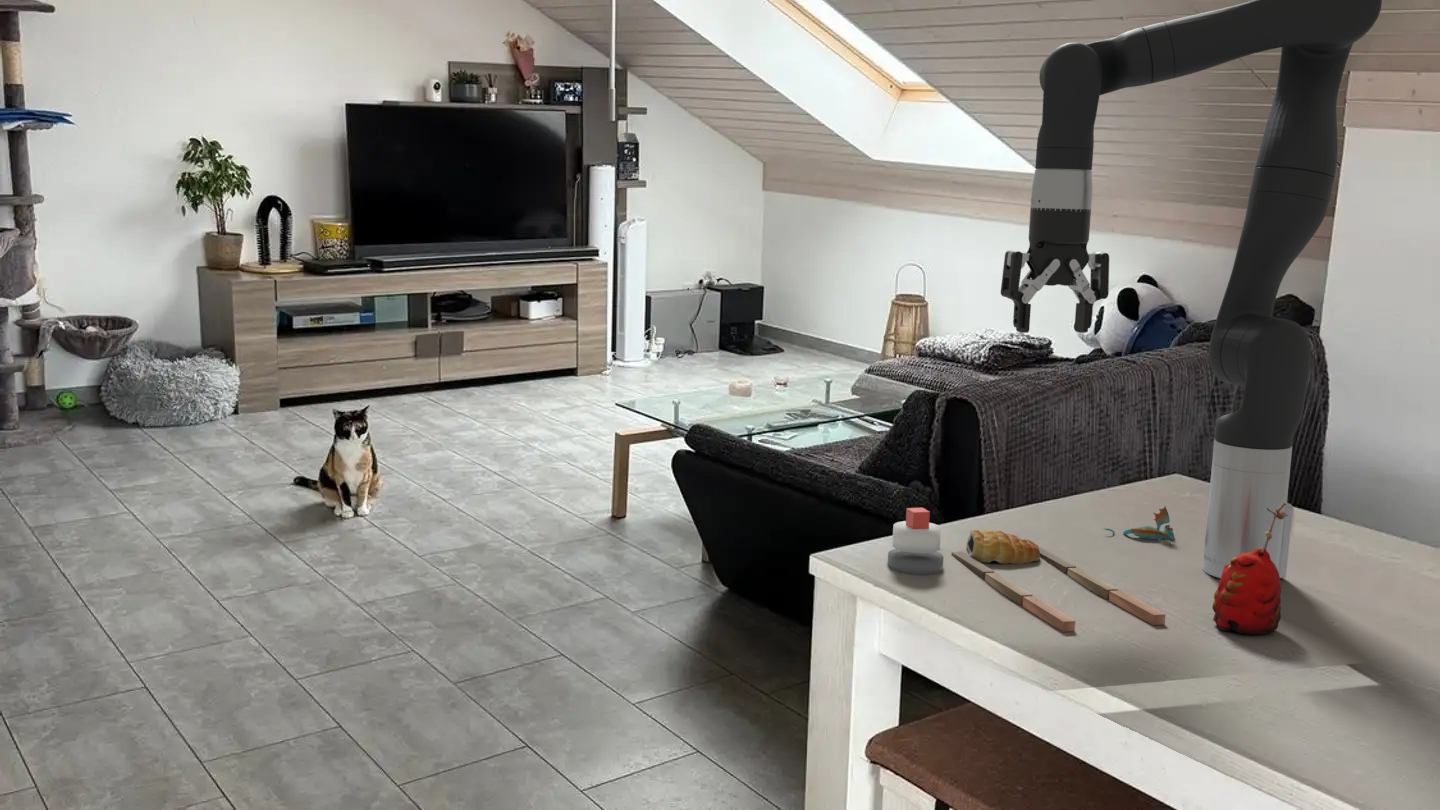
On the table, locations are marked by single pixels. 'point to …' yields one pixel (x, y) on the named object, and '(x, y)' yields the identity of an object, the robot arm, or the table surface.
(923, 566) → the button base
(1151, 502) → the table surface
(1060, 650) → the table surface
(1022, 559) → the pastry
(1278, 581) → the red clay folk toy
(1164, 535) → the dragon figurine
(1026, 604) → the track
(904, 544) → the dome button
